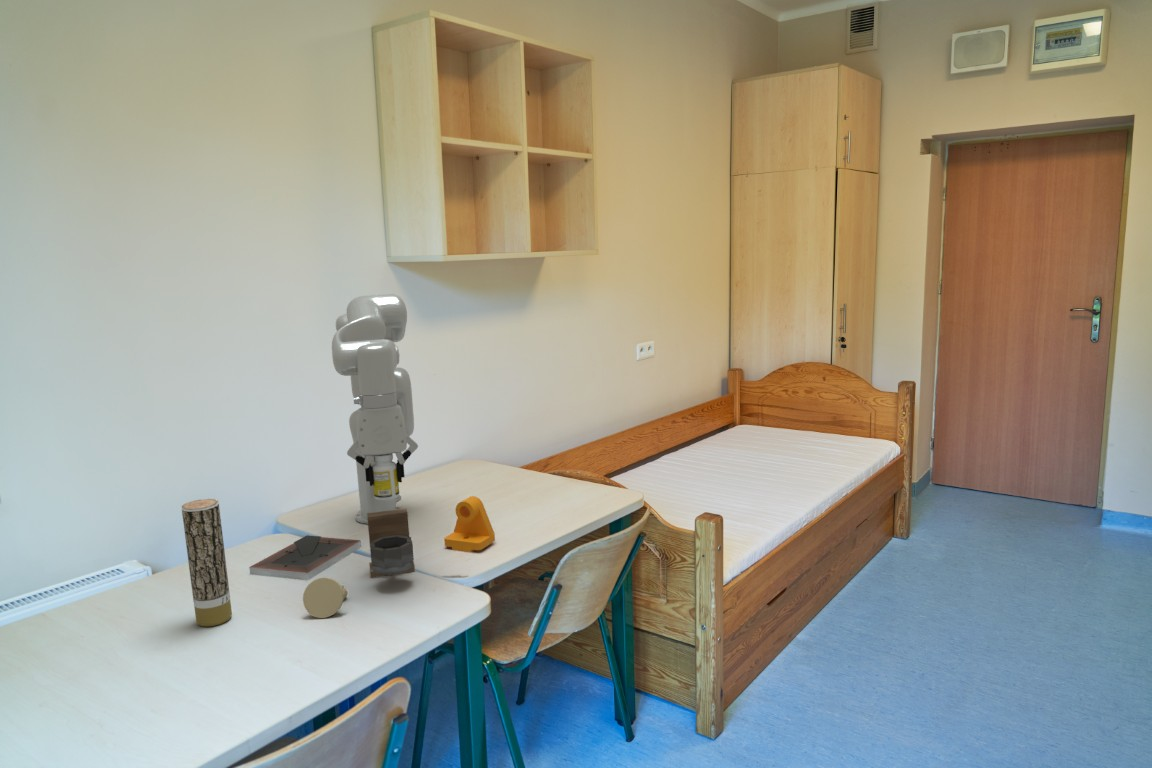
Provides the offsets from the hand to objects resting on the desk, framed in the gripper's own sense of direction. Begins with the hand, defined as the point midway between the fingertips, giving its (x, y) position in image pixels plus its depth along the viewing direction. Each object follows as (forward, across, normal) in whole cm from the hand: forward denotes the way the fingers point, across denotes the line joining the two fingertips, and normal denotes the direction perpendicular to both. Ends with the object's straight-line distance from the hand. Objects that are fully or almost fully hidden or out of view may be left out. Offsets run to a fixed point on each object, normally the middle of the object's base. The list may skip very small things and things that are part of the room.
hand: (385, 481), depth 175 cm
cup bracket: (+24, 0, +4) cm, 24 cm away
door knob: (+24, -14, -7) cm, 29 cm away
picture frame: (+25, -19, +24) cm, 40 cm away
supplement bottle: (+4, 0, 0) cm, 4 cm away
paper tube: (+24, -37, -4) cm, 44 cm away
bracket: (+24, +20, +18) cm, 36 cm away
